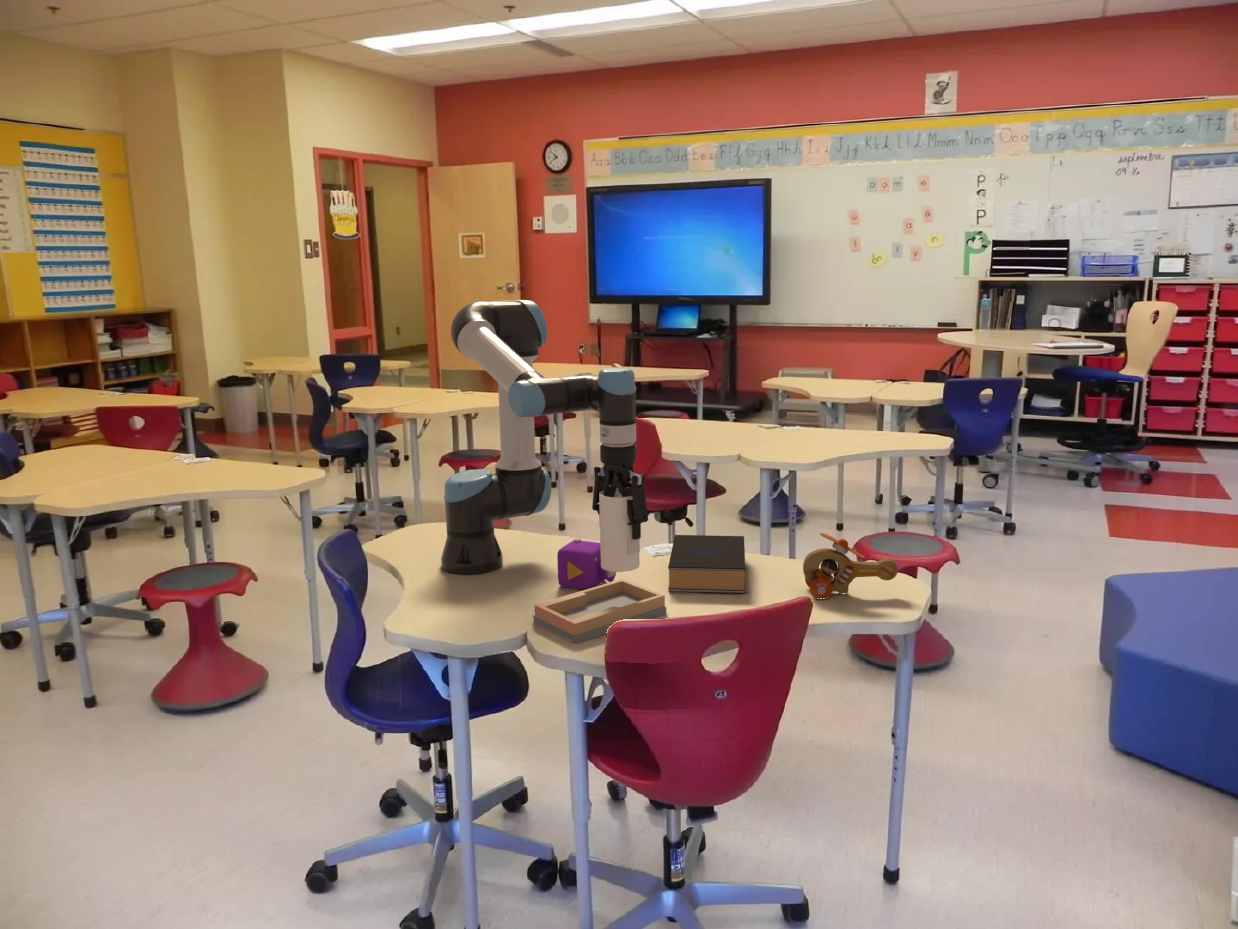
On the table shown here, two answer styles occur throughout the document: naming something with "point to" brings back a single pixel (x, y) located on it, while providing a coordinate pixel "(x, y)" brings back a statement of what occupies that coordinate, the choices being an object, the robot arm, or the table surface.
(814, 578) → the toy helicopter
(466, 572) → the robot arm
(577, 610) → the board
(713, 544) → the book
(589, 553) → the toy camera
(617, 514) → the cup
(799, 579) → the table surface
